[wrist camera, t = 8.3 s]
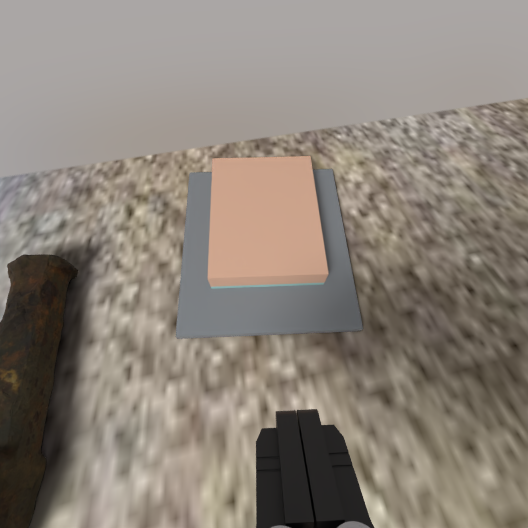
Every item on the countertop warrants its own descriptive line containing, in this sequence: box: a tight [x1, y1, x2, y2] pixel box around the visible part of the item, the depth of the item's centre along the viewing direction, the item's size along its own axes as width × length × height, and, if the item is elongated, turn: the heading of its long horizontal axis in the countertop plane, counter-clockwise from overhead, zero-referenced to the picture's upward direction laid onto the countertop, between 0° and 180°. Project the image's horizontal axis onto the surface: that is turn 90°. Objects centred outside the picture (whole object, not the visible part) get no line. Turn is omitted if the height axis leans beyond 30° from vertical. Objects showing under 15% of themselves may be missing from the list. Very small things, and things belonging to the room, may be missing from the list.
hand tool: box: [0, 255, 78, 528], centre depth 19 cm, size 19×4×5 cm, turn 6°
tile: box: [208, 156, 329, 289], centre depth 26 cm, size 9×2×12 cm
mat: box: [176, 169, 363, 339], centre depth 27 cm, size 14×16×1 cm
